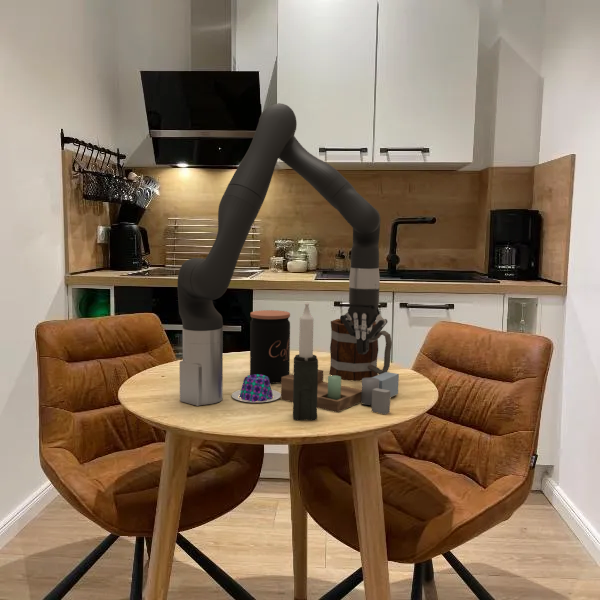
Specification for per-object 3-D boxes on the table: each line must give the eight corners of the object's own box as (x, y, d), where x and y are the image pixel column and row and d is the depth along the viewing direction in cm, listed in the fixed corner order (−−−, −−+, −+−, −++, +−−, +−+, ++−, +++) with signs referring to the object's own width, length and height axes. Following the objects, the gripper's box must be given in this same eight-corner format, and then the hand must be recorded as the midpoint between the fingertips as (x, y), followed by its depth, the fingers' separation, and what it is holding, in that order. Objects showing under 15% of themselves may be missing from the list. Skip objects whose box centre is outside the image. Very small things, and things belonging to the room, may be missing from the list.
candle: (315, 413, 132) (318, 301, 129) (317, 420, 127) (319, 304, 124) (292, 412, 132) (294, 300, 128) (293, 420, 126) (295, 303, 123)
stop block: (385, 414, 132) (386, 392, 131) (371, 411, 134) (372, 389, 133) (389, 412, 133) (390, 390, 132) (375, 409, 135) (376, 387, 135)
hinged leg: (373, 406, 136) (373, 382, 135) (358, 403, 138) (358, 379, 138) (399, 393, 147) (399, 372, 146) (384, 391, 149) (385, 369, 148)
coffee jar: (271, 386, 153) (271, 317, 151) (241, 379, 160) (241, 312, 157) (297, 378, 161) (298, 312, 159) (268, 372, 168) (268, 309, 166)
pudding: (290, 395, 146) (290, 374, 145) (263, 408, 135) (264, 386, 135) (249, 388, 152) (249, 368, 151) (221, 400, 141) (221, 378, 141)
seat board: (337, 412, 132) (338, 388, 132) (281, 399, 142) (281, 377, 141) (364, 400, 142) (365, 378, 141) (310, 388, 151) (310, 367, 151)
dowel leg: (335, 409, 134) (336, 379, 134) (324, 407, 136) (325, 377, 135) (342, 406, 137) (343, 376, 136) (331, 404, 139) (332, 374, 138)
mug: (319, 373, 167) (320, 321, 165) (352, 366, 176) (353, 316, 174) (371, 388, 152) (373, 331, 151) (405, 380, 161) (407, 325, 160)
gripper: (333, 285, 149) (332, 352, 152) (380, 289, 142) (378, 360, 144) (349, 282, 156) (347, 347, 158) (394, 286, 148) (392, 354, 150)
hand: (362, 353), depth 151 cm, fingers closed
